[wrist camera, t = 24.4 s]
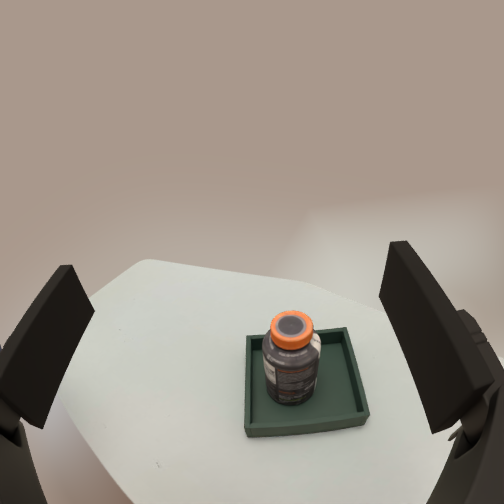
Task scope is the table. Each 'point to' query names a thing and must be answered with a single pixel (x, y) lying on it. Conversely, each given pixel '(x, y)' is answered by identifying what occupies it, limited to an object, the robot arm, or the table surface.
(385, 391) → the table surface
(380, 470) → the table surface
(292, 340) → the pill bottle
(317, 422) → the tray
